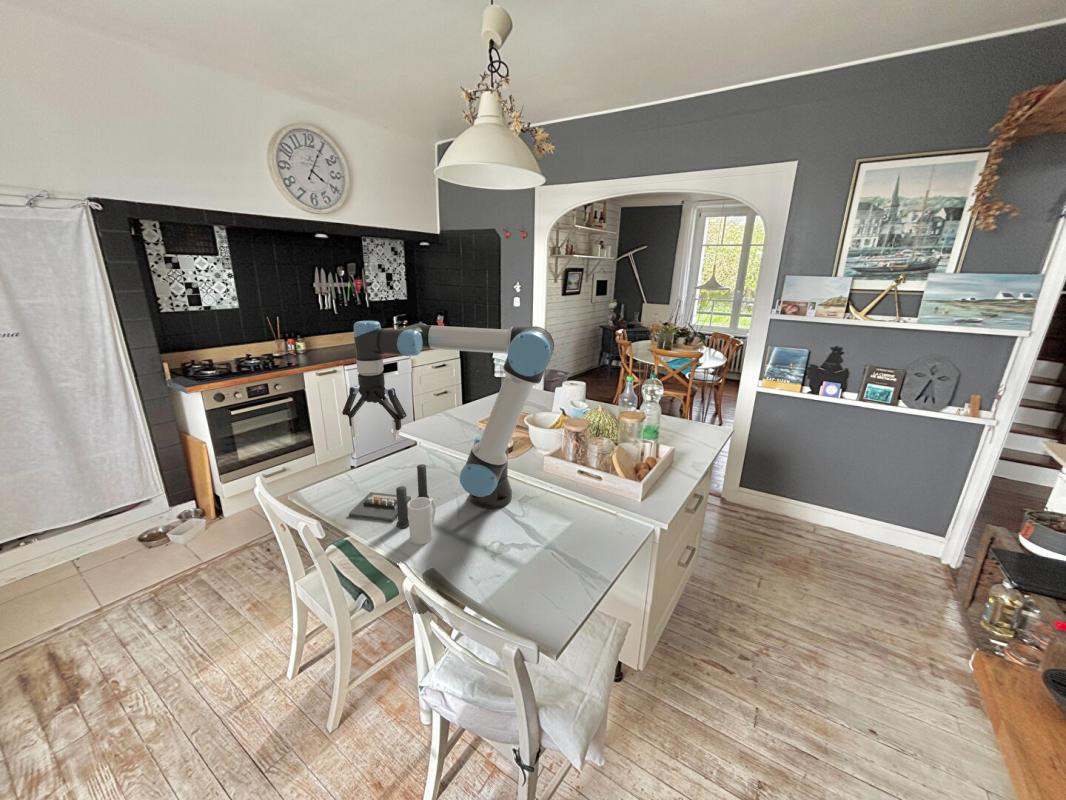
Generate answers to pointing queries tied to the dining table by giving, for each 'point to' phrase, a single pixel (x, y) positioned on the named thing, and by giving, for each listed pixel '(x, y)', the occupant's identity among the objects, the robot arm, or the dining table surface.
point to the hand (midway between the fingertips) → (376, 437)
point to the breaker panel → (377, 507)
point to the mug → (421, 519)
